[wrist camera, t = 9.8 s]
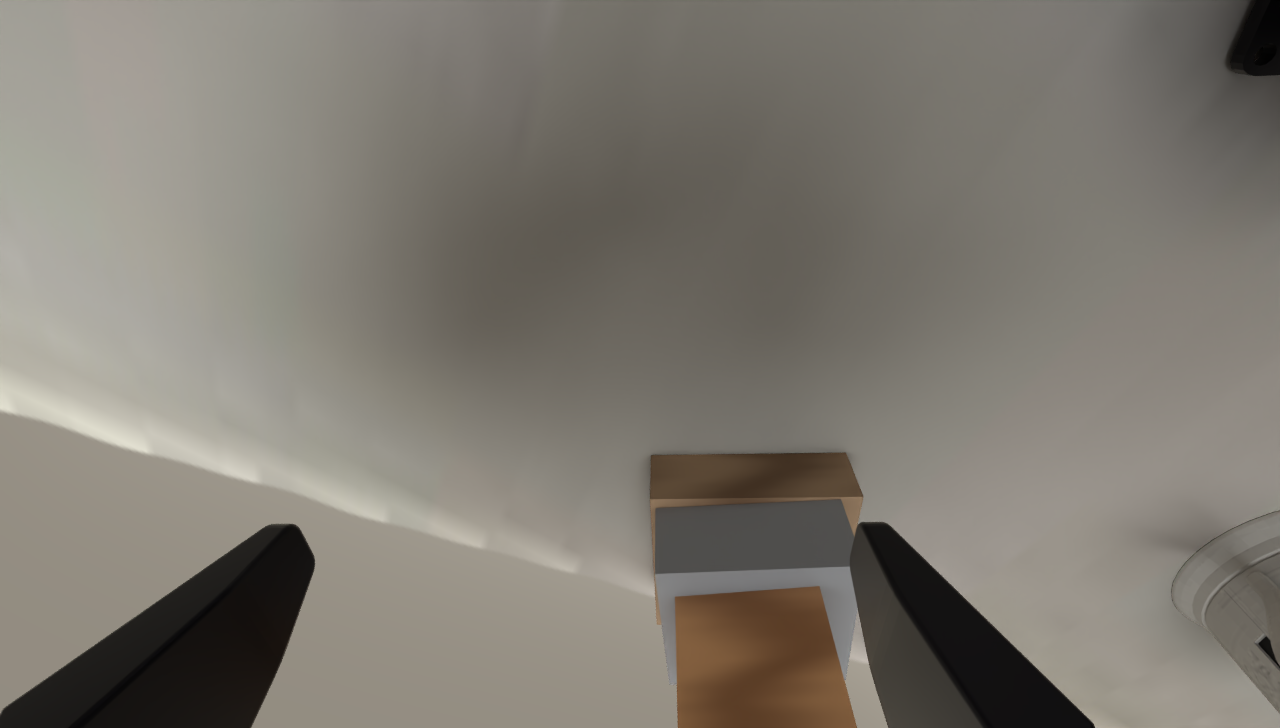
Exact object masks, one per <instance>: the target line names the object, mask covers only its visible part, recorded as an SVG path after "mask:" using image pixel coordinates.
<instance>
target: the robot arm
mask: <svg viewBox="0 0 1280 728" xmlns="http://www.w3.org/2000/svg"><path fill="white" fill-rule="evenodd" d="M1261 47H1264V48H1263V53H1262V54H1261V56H1260V57H1259V58H1258V59H1257V60H1256V61H1254V56H1255V54H1256V53H1257V51H1258V50H1259V49H1260V48H1261ZM1230 63H1231V68H1232V70H1233V71H1234V72H1235V73H1239V74H1245V75H1252V76H1266V75H1280V0H1257V1H1256V3H1255V5H1254V7H1253V10H1252V12H1251V14H1250V16H1249V19H1248V21H1247V23H1246V25H1245V27H1244V30H1243V32H1242V34H1241V36H1240V39H1239V41H1238V43H1237V45H1236V47H1235V50H1234V52H1233V54H1232V58H1231V62H1230ZM314 567H315V559H314V555H313V553H312V551H311V549H310V547H309V545H308V543H307V541H306V539H305V537H304V536H303V534H302V532H301V530H300V528H299V527H298V526H296V525H294V524H271V525H268V526H266V527H264V528H262V529H261V530H259V531H258V532H257V533H255V534H254V535H252V536H251V537H249V538H248V539H247V540H245V541H244V542H242V543H241V544H239V545H238V546H236V547H235V548H234V549H232V550H231V551H229V552H228V553H227V554H225V555H224V556H222V557H221V558H219V559H218V560H217V561H215V562H213V563H212V564H211V565H209V566H208V567H206V568H205V569H203V570H202V571H201V572H199V573H198V574H196V575H195V576H193V577H192V578H190V579H189V580H188V581H186V582H185V583H183V584H182V585H180V586H179V587H177V588H176V589H175V590H173V591H172V592H170V593H169V594H167V595H166V596H165V597H163V598H162V599H160V600H159V601H157V602H156V603H155V604H153V605H152V606H150V607H149V608H147V609H146V610H144V611H143V612H142V613H140V614H139V615H137V616H136V617H134V618H133V619H132V620H130V621H129V622H127V623H126V624H124V625H123V626H121V627H120V628H118V629H117V630H116V631H114V632H113V633H111V634H110V635H108V636H107V637H106V638H104V639H103V640H101V641H100V642H98V643H97V644H95V645H94V646H93V647H91V648H90V649H88V650H87V651H85V652H84V653H82V654H81V655H80V656H78V657H77V658H75V659H74V660H72V661H71V662H70V663H68V664H67V665H66V666H64V667H62V668H61V669H59V670H58V671H57V672H55V673H54V674H52V675H51V676H49V677H48V678H47V679H45V680H44V681H42V682H41V683H40V684H38V685H36V686H35V687H34V688H32V689H31V690H30V691H28V692H26V693H25V694H23V695H22V696H21V697H19V698H18V699H16V700H15V701H13V702H12V703H11V704H9V705H8V706H6V707H5V708H4V709H3V710H2V711H1V713H0V728H251V727H252V725H253V723H254V720H255V718H256V716H257V714H258V712H259V710H260V708H261V705H262V703H263V701H264V699H265V697H266V695H267V693H268V690H269V688H270V686H271V684H272V682H273V680H274V678H275V675H276V673H277V671H278V668H279V666H280V664H281V661H282V659H283V656H284V654H285V651H286V649H287V646H288V643H289V640H290V637H291V634H292V632H293V628H294V626H295V623H296V620H297V617H298V615H299V612H300V609H301V606H302V603H303V601H304V598H305V595H306V592H307V589H308V586H309V583H310V580H311V578H312V575H313V572H314ZM850 572H851V577H852V582H853V587H854V592H855V597H856V602H857V607H858V612H859V617H860V622H861V627H862V632H863V637H864V642H865V647H866V652H867V656H868V661H869V665H870V669H871V673H872V677H873V680H874V684H875V687H876V690H877V693H878V696H879V699H880V703H881V706H882V709H883V712H884V715H885V718H886V722H887V725H888V728H1095V726H1094V724H1093V723H1092V722H1091V721H1090V720H1089V719H1088V718H1087V717H1086V716H1085V715H1084V714H1083V713H1082V712H1081V711H1080V710H1079V709H1078V708H1077V707H1076V706H1075V705H1074V704H1073V703H1072V702H1071V701H1070V700H1069V699H1068V698H1067V697H1066V696H1065V695H1064V694H1063V693H1062V692H1061V691H1060V690H1059V689H1058V688H1057V687H1055V686H1054V685H1053V684H1052V683H1051V682H1050V681H1049V680H1048V679H1047V678H1046V677H1045V676H1044V675H1043V674H1042V673H1041V672H1040V671H1039V670H1038V669H1037V668H1036V667H1035V666H1034V665H1033V664H1032V663H1031V662H1030V661H1029V660H1028V659H1027V658H1026V657H1025V656H1024V655H1023V654H1022V653H1021V652H1019V651H1018V650H1017V649H1016V648H1015V647H1014V646H1013V645H1012V644H1011V643H1010V642H1009V641H1008V640H1007V639H1006V638H1005V637H1004V636H1003V635H1002V634H1001V633H1000V632H999V631H998V630H997V629H996V628H995V627H994V626H993V625H992V624H991V623H990V622H989V621H988V620H987V619H986V618H985V617H984V616H982V615H981V614H980V613H979V612H978V611H977V610H976V609H975V608H974V607H973V606H972V605H971V604H970V603H969V602H968V601H967V600H966V599H965V598H964V597H963V596H962V595H961V594H960V593H959V592H958V591H957V590H956V589H955V588H954V587H953V586H952V585H951V584H950V583H949V582H948V581H947V580H945V579H944V578H943V577H942V576H941V575H940V574H939V573H938V572H937V571H936V570H935V569H934V568H933V567H932V566H931V565H930V564H929V563H928V562H927V561H926V560H925V559H924V558H923V557H922V556H921V555H920V554H919V553H918V552H917V551H916V550H915V549H914V548H913V547H912V546H911V545H909V544H908V543H907V542H906V541H905V540H904V539H903V538H902V537H901V536H900V535H899V534H898V533H897V532H896V531H895V530H894V529H893V528H892V527H891V526H890V525H888V524H887V523H884V522H861V523H859V524H858V526H857V528H856V532H855V537H854V541H853V545H852V550H851V554H850Z"/></svg>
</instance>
